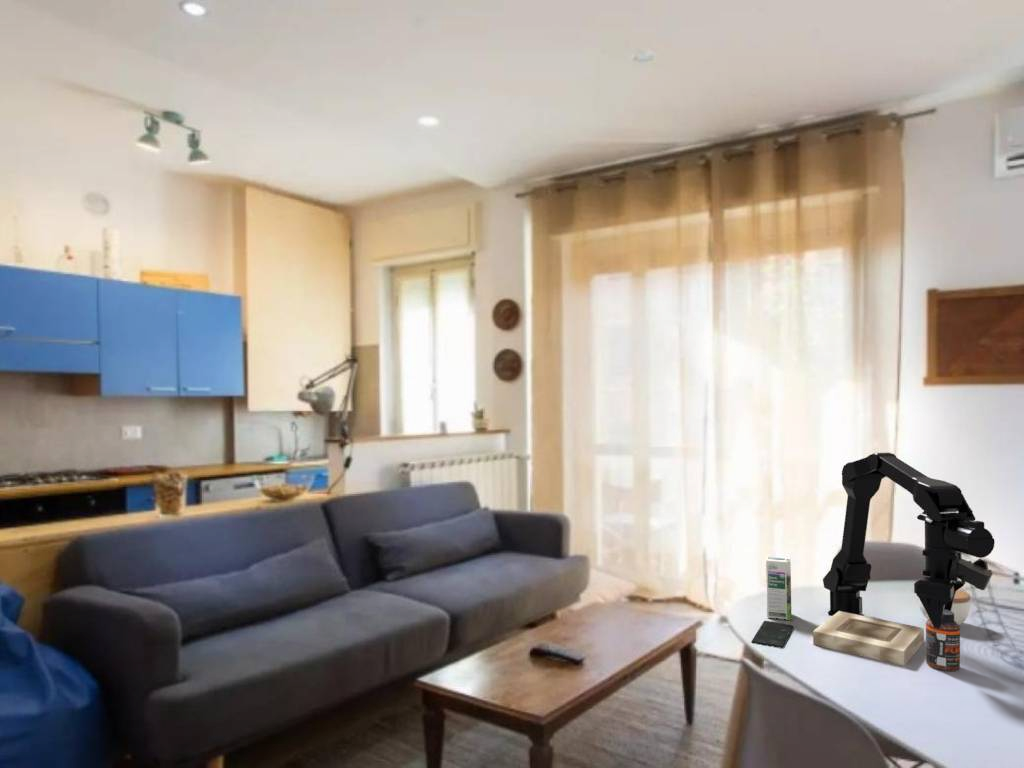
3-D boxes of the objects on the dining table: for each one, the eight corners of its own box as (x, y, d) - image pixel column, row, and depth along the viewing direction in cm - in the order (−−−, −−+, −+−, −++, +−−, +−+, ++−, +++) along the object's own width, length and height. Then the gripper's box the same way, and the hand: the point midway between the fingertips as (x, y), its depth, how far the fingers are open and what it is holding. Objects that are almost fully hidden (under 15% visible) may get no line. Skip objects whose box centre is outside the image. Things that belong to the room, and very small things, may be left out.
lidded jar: (917, 613, 171) (917, 576, 171) (968, 620, 166) (968, 582, 166) (918, 627, 162) (917, 587, 162) (972, 634, 157) (971, 594, 157)
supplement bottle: (949, 674, 135) (948, 617, 135) (919, 664, 141) (918, 609, 141) (966, 668, 138) (965, 613, 138) (937, 658, 143) (936, 604, 143)
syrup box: (766, 618, 169) (765, 560, 169) (767, 611, 175) (766, 554, 175) (791, 621, 167) (790, 562, 167) (791, 613, 173) (790, 556, 173)
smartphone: (751, 640, 153) (763, 620, 166) (751, 645, 153) (764, 624, 166) (783, 646, 150) (793, 624, 163) (783, 651, 150) (794, 629, 163)
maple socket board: (813, 644, 152) (813, 630, 152) (839, 623, 165) (838, 610, 165) (903, 665, 140) (903, 651, 140) (924, 641, 153) (923, 627, 153)
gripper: (980, 561, 127) (981, 644, 127) (995, 543, 141) (996, 618, 141) (913, 551, 135) (914, 630, 135) (933, 535, 149) (934, 607, 148)
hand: (942, 621), depth 140 cm, fingers open, 9 cm apart
